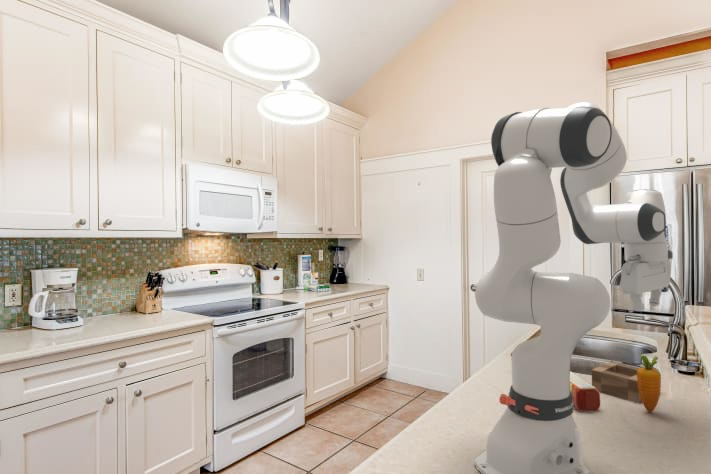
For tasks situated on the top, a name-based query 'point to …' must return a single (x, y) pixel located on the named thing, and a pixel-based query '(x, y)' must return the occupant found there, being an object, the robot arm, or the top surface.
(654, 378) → the carrot
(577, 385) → the snack package
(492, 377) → the top surface
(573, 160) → the robot arm
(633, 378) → the socket block
